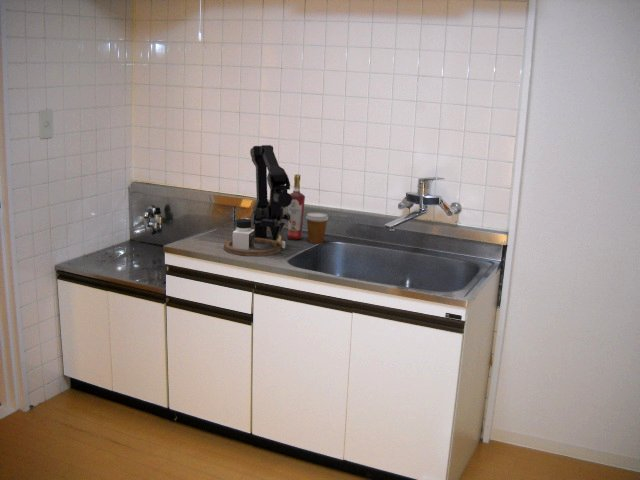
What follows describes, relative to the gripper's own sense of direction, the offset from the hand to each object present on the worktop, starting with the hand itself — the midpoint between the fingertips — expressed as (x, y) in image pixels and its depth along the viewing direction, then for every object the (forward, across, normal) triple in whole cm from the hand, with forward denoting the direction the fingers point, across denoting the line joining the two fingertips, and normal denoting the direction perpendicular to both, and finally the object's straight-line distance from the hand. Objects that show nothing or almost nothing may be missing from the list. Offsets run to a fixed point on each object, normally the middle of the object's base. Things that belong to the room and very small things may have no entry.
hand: (274, 240), depth 295 cm
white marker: (+4, -6, +2) cm, 7 cm away
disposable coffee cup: (+4, -22, +11) cm, 24 cm away
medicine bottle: (+5, +2, -13) cm, 14 cm away
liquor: (+4, -22, +1) cm, 23 cm away
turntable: (+4, +2, -9) cm, 10 cm away
